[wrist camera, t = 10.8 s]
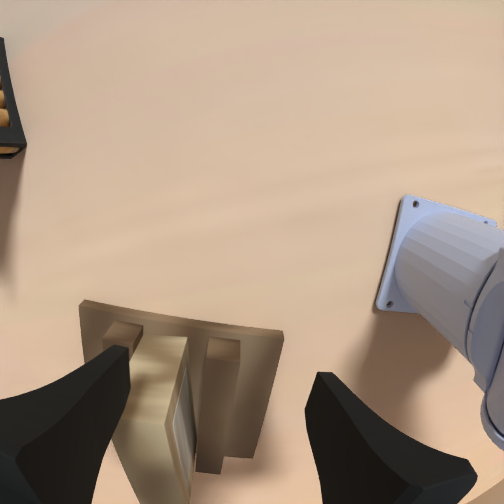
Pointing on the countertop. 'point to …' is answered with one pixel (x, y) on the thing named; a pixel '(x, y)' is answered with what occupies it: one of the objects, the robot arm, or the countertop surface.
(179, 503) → the beige wooden block
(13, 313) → the countertop surface
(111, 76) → the countertop surface
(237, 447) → the notched stand
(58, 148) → the countertop surface
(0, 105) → the ammunition clip
